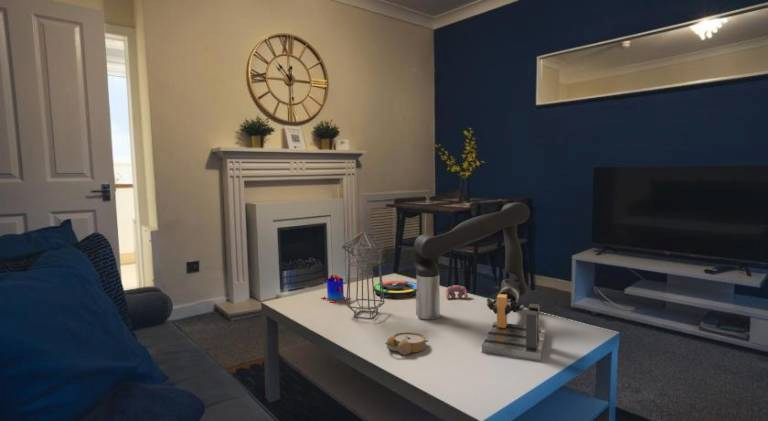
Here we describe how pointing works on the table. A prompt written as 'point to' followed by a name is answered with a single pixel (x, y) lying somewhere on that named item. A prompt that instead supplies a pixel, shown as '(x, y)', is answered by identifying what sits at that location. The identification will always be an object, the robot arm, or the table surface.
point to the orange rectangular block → (501, 310)
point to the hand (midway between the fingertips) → (500, 311)
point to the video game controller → (456, 288)
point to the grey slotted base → (517, 338)
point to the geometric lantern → (353, 243)
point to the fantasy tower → (335, 290)
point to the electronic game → (397, 289)
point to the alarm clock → (406, 342)
